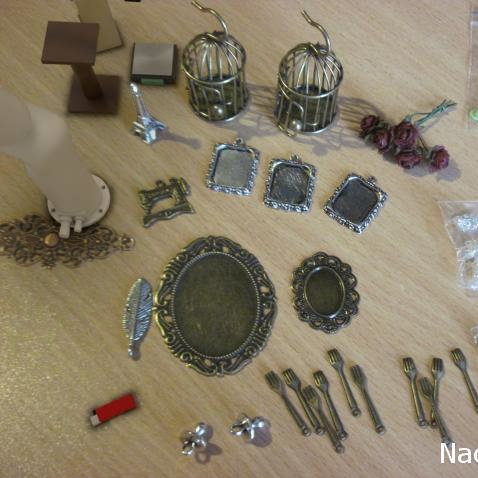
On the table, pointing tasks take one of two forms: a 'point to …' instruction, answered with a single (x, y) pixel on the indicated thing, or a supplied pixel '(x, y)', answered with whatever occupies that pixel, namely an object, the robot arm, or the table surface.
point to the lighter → (112, 409)
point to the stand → (80, 66)
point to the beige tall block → (99, 21)
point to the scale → (154, 63)
